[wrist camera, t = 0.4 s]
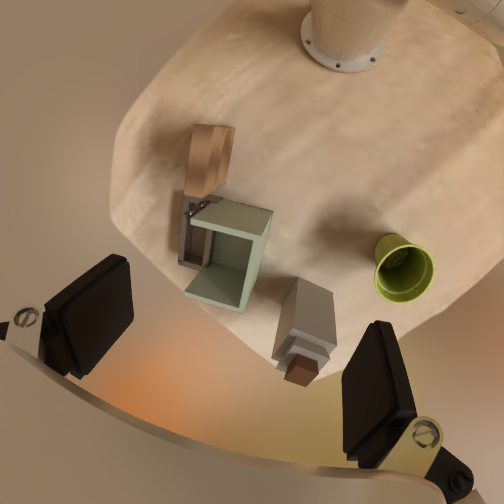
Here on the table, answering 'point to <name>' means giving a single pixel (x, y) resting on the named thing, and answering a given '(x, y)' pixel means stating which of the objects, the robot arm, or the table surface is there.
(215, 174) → the door
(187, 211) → the grey brown open box
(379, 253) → the plant pot
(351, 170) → the table surface
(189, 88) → the table surface
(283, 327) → the perfume bottle
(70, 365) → the robot arm
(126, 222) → the table surface
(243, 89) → the table surface
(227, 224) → the box
